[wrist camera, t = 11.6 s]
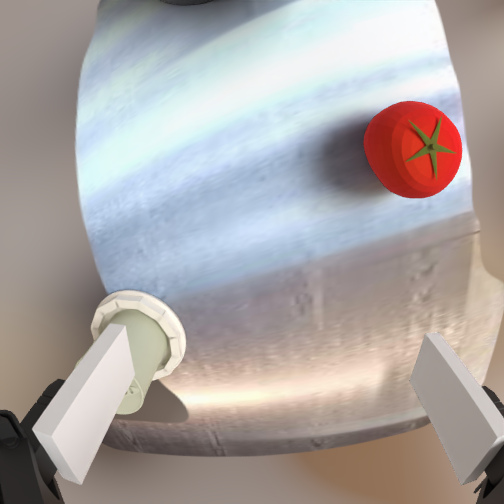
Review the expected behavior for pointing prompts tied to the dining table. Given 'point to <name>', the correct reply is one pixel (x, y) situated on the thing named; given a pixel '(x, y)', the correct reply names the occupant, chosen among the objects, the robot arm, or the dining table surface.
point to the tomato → (413, 149)
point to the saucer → (154, 310)
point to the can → (139, 354)
